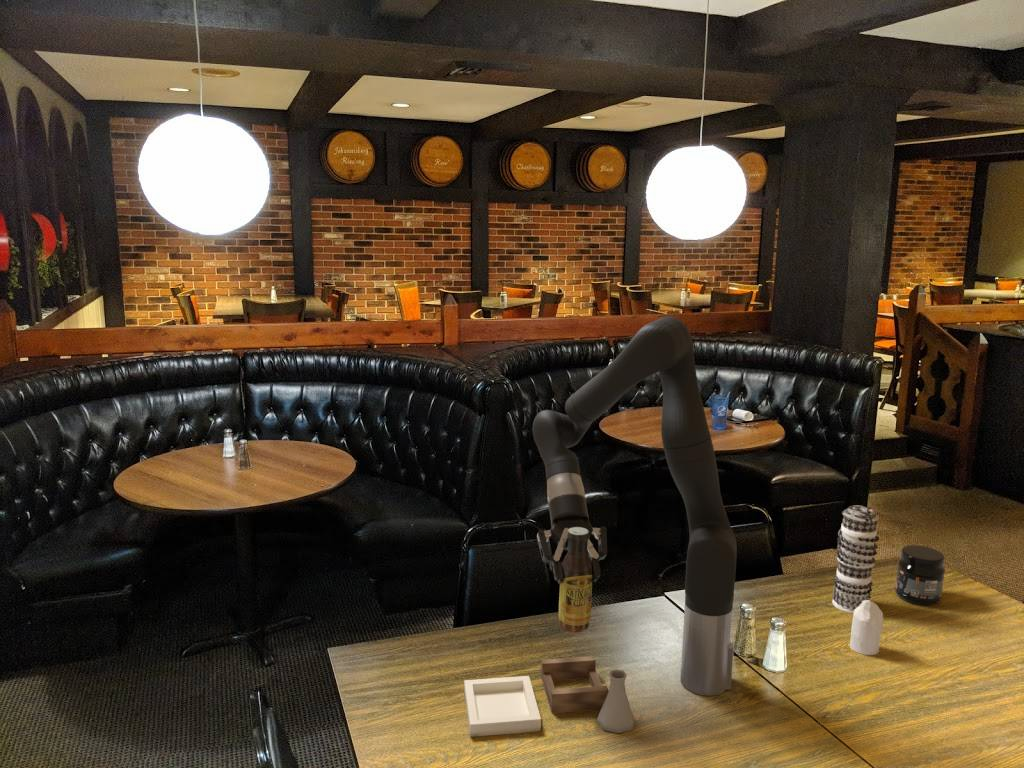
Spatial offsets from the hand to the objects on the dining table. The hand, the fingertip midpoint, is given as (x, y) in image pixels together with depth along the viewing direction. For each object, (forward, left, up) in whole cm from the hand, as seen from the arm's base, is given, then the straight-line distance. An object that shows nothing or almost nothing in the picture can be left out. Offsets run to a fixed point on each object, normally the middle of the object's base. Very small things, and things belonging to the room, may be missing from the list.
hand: (578, 581), depth 151 cm
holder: (0, -2, -25) cm, 25 cm away
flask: (-6, +8, -25) cm, 27 cm away
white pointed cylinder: (-67, -10, -25) cm, 72 cm away
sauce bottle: (0, -2, -11) cm, 11 cm away
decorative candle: (-75, -29, -25) cm, 84 cm away
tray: (+15, +2, -25) cm, 29 cm away
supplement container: (-94, -31, -25) cm, 102 cm away
